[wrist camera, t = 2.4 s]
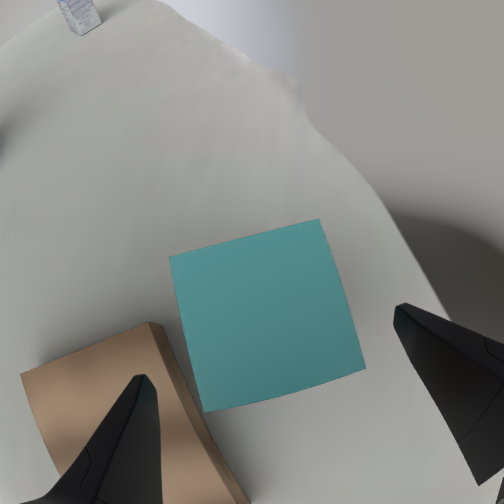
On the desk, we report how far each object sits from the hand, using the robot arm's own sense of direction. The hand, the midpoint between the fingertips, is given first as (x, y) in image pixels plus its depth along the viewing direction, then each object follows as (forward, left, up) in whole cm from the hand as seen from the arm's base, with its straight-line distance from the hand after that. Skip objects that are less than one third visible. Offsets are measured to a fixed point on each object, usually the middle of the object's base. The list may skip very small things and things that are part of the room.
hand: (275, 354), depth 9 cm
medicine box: (+58, +8, -9) cm, 59 cm away
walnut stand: (-3, +12, -9) cm, 15 cm away
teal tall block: (+1, 0, -9) cm, 9 cm away
